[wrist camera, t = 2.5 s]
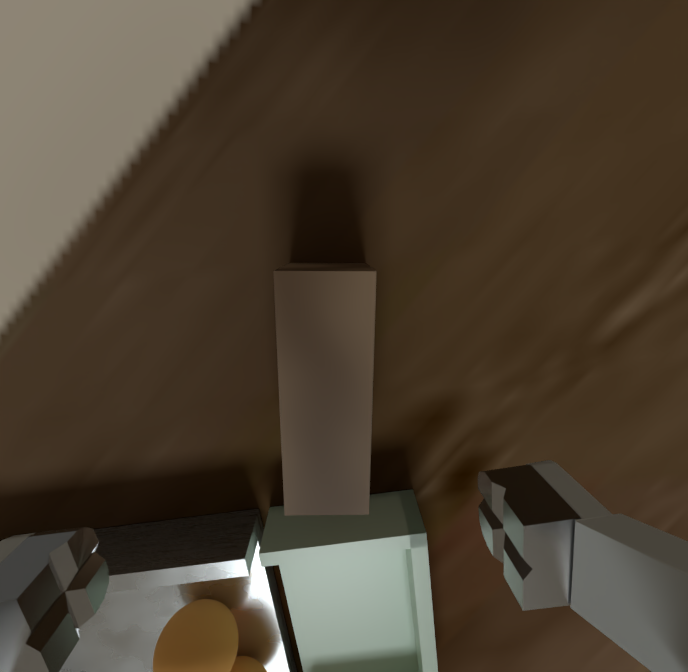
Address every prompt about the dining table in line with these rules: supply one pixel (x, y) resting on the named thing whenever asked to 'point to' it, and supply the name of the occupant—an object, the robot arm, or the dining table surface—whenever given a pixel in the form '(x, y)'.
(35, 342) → the dining table surface
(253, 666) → the ball
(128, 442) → the dining table surface
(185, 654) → the ball
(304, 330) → the taupe rectangular slab
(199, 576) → the grey metal shallow bin
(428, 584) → the tray
